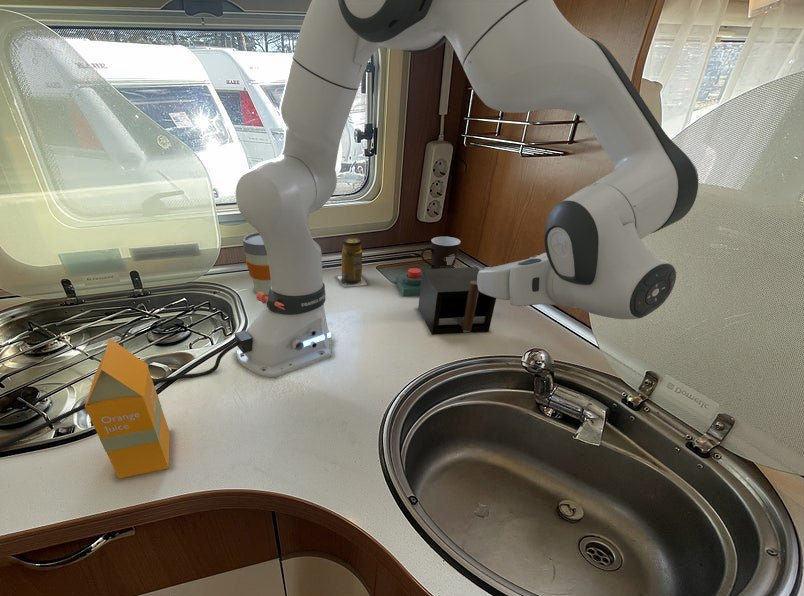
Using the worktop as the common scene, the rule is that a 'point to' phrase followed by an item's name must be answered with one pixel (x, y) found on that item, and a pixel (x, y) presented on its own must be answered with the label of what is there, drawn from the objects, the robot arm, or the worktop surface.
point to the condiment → (351, 263)
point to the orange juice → (128, 414)
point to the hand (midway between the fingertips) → (510, 265)
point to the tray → (462, 311)
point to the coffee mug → (443, 252)
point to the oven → (451, 298)
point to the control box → (408, 285)
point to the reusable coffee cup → (257, 262)
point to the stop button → (414, 273)
